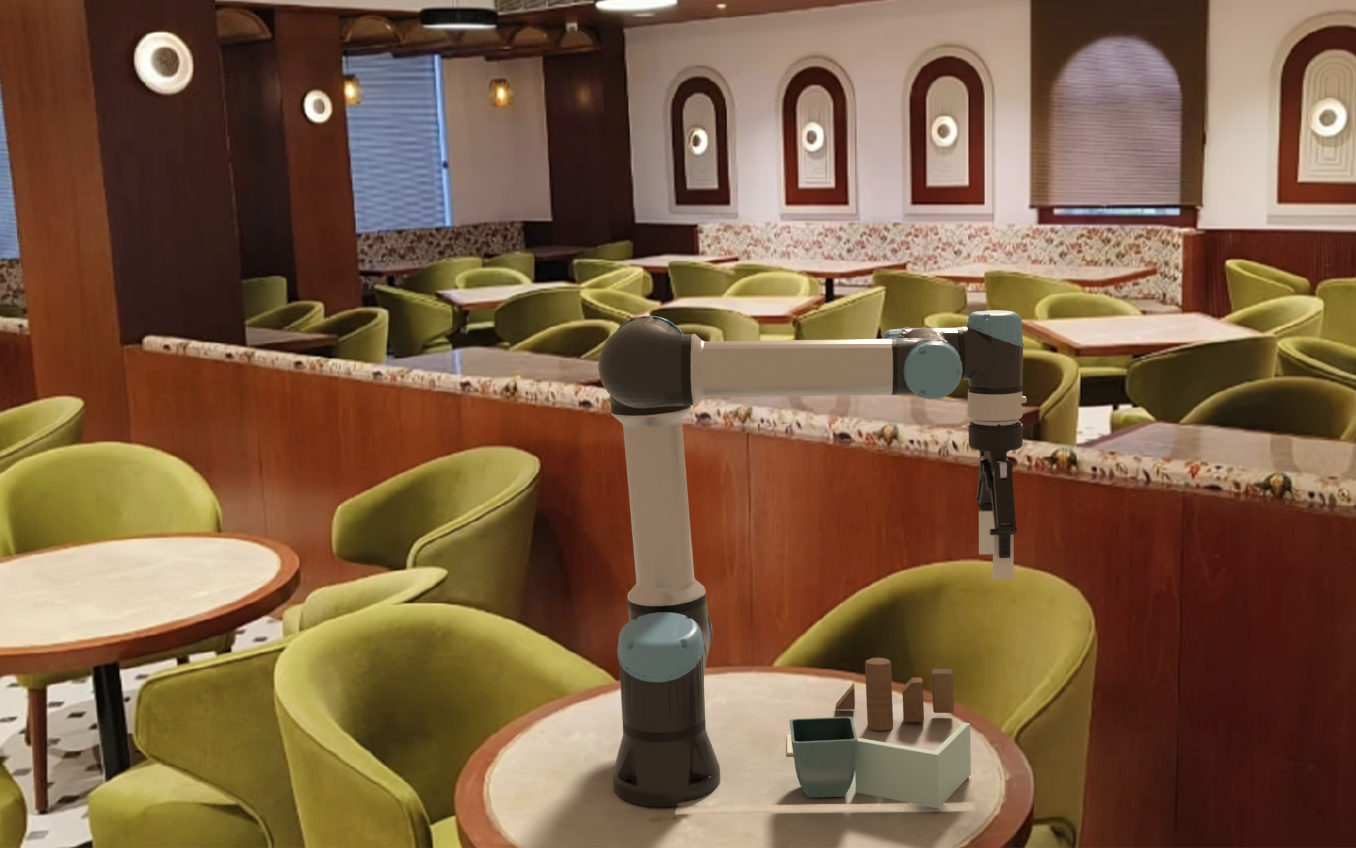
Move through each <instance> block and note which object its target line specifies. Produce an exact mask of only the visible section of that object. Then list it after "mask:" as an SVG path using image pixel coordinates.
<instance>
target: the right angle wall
mask: <svg viewBox="0 0 1356 848" xmlns="http://www.w3.org/2000/svg"><path fill="white" fill-rule="evenodd" d="M971 755H972V754H971V723H969V722H962V724H961V725H960V726H959V727H958V728H957V729H956V730H955V731H953V732H952V733H951V734H950V736H949V737H947V738H946V739H945V740H944V741H943V742H942V743H941V744H940V745H939V746H938V747H937V748H936V749H935V750H930V749H925V748H919V747H914V746H907V745H902V744H896V743H889V742H885V741H878V740H872V739H867V738H861V737H857V753H856V767H855V774H854V777H855V779H854V780H855V793H857V794H863V795H868V796H872V797H873V796H874V797H878V798H883V799H889V800H893V801H898V802H903V803H907V804H914V805H917V806H918V805H919V806H923V807H924V806H925V807H930V808H935V809H940V808H941V807H942V806H943V805H944V804H945V803H946V802H947V801H948V800H949V798H951V796H953V794H955V792H956V791H957V790H958V789H959V788H960V787H961V785H963V783H965V781H966V780H967V779H968V778H970V776H971V775H972V766H971V765H972V763H971V762H972V760H971Z"/></svg>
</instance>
